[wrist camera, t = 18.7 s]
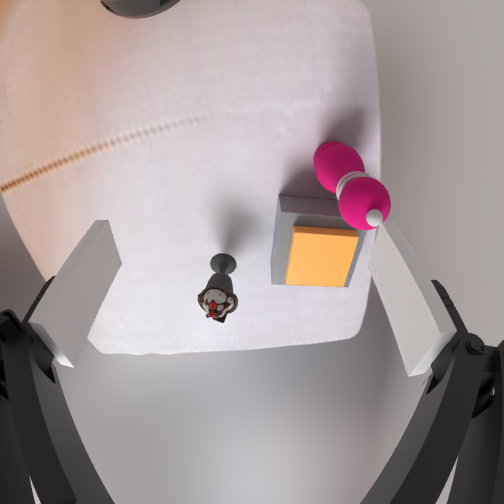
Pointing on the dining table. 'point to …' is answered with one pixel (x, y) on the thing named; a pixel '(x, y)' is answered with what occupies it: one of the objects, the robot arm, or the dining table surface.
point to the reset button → (320, 256)
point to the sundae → (219, 289)
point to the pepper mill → (351, 186)
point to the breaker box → (309, 215)
